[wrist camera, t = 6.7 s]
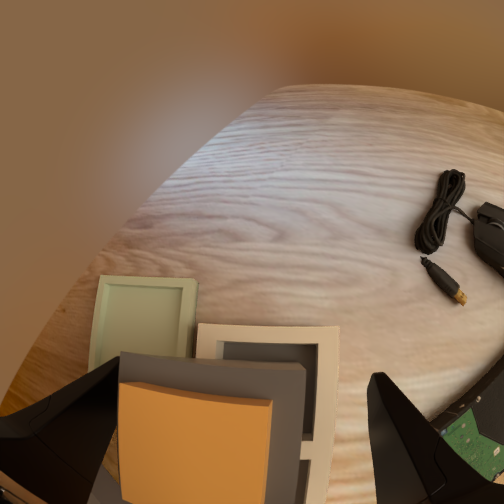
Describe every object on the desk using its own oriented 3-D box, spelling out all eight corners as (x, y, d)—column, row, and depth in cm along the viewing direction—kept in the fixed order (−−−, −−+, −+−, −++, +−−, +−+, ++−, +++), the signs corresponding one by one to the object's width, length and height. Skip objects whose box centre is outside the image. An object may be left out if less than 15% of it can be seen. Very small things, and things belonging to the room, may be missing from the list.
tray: (189, 398, 18) (182, 400, 17) (96, 376, 20) (87, 376, 18) (198, 283, 21) (192, 278, 20) (108, 279, 23) (100, 275, 22)
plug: (295, 417, 16) (287, 553, 3) (237, 413, 17) (103, 507, 3) (298, 361, 18) (308, 371, 4) (240, 359, 18) (98, 348, 5)
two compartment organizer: (317, 520, 13) (318, 536, 10) (201, 510, 14) (191, 524, 12) (334, 330, 18) (339, 326, 16) (209, 327, 20) (198, 323, 18)
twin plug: (166, 530, 13) (146, 549, 10) (142, 539, 13) (122, 555, 9) (67, 409, 19) (38, 411, 15) (52, 426, 18) (24, 428, 14)
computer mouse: (510, 373, 14) (537, 370, 10) (390, 248, 21) (406, 226, 17) (546, 274, 16) (567, 261, 12) (445, 168, 22) (459, 143, 19)
